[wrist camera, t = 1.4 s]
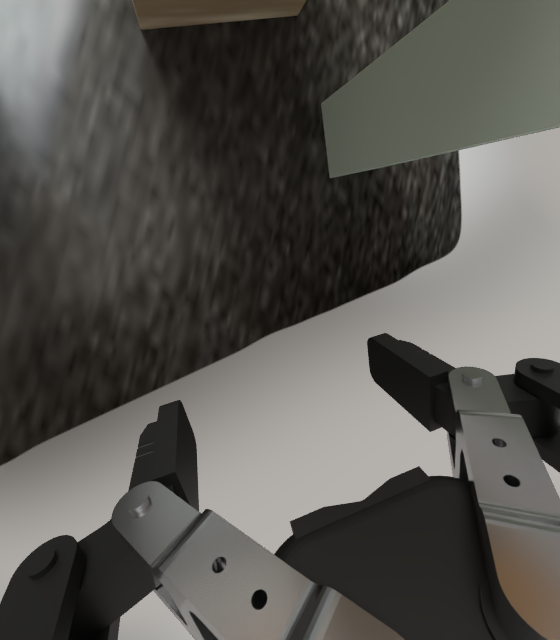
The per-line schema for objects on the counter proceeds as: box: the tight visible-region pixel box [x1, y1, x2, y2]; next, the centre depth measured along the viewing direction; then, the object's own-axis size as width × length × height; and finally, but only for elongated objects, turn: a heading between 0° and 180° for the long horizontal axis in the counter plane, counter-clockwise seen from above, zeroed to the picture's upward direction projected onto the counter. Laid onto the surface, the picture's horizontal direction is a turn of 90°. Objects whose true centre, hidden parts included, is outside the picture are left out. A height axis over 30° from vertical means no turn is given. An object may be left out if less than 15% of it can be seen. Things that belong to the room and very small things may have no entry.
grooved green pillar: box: [321, 0, 560, 178], centre depth 24 cm, size 8×7×29 cm
